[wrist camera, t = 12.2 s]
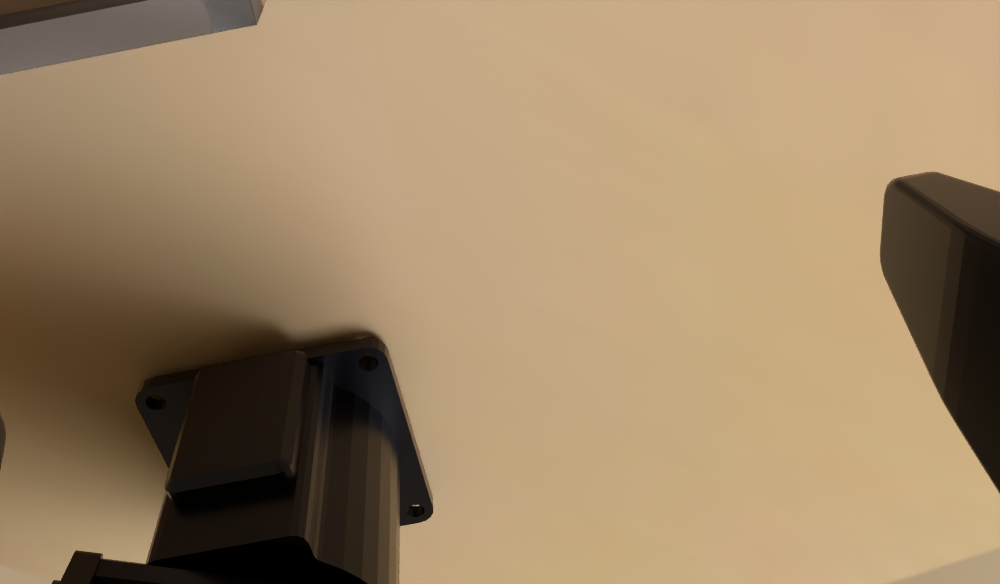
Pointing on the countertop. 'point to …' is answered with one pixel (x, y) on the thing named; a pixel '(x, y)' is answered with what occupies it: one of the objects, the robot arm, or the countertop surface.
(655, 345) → the countertop surface
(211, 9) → the lane
